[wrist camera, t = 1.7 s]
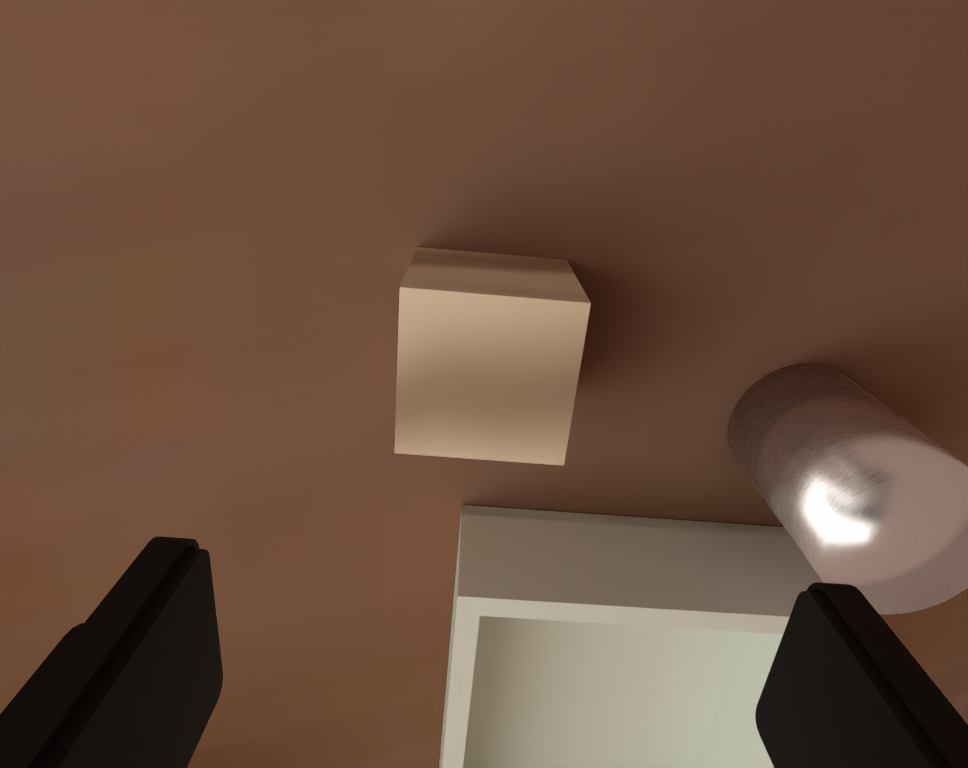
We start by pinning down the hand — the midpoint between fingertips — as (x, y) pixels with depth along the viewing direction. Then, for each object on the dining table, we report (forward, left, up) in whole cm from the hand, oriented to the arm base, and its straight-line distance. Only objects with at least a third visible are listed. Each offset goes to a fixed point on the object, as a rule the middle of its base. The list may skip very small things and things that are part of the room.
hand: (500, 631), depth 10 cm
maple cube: (-1, 0, -13) cm, 13 cm away
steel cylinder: (+2, +12, -13) cm, 18 cm away
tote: (+16, +6, -13) cm, 22 cm away
